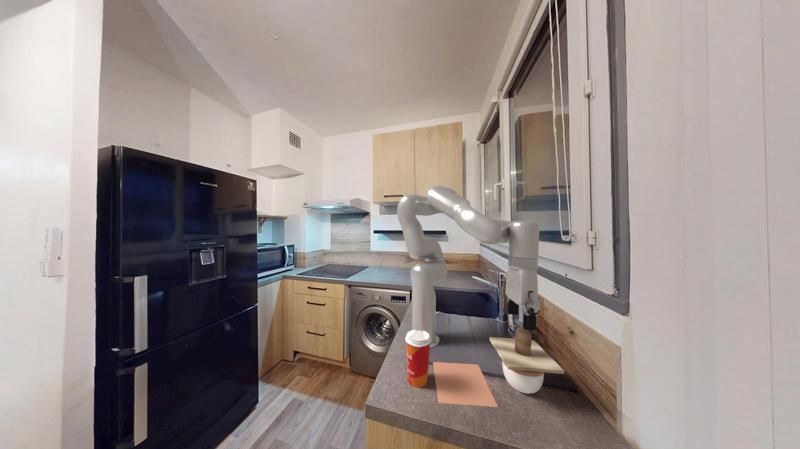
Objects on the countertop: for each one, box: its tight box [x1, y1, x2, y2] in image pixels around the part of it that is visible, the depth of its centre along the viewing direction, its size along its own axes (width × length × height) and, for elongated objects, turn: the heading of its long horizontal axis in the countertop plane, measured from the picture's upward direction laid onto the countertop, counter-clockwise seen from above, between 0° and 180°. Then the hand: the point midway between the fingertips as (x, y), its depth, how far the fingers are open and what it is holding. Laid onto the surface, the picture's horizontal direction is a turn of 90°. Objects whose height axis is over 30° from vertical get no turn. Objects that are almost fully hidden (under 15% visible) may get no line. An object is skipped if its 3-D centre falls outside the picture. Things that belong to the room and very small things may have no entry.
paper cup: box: [404, 329, 431, 388], centre depth 64 cm, size 8×8×14 cm
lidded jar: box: [501, 359, 545, 395], centre depth 63 cm, size 11×11×9 cm
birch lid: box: [488, 327, 565, 375], centre depth 63 cm, size 14×14×7 cm
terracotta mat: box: [432, 361, 499, 408], centre depth 64 cm, size 17×15×1 cm
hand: (520, 321), depth 63 cm, fingers open, 9 cm apart
